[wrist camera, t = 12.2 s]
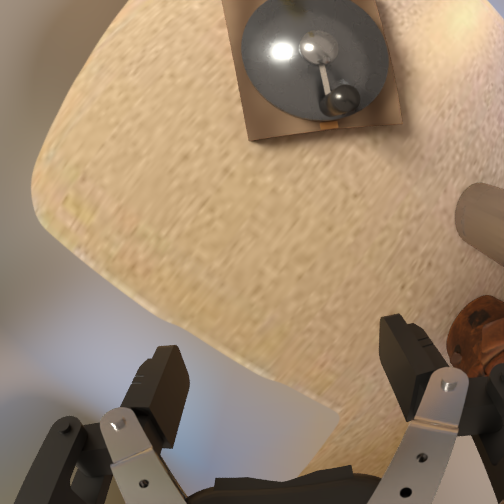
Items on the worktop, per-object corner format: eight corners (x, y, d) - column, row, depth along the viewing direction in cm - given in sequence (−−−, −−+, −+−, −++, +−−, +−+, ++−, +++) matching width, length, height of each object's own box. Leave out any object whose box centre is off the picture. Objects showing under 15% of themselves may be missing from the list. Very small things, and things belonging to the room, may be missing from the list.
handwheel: (230, 4, 28) (220, -30, 20) (365, -8, 26) (388, -38, 18) (257, 131, 33) (255, 128, 25) (395, 114, 31) (430, 109, 23)
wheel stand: (365, -5, 28) (371, -12, 26) (394, 124, 34) (403, 123, 32) (223, 7, 30) (221, -2, 28) (249, 141, 36) (248, 140, 33)
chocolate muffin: (501, 252, 39) (573, 305, 22) (516, 331, 44) (565, 386, 27) (417, 316, 43) (469, 396, 26) (446, 384, 48) (483, 453, 32)
